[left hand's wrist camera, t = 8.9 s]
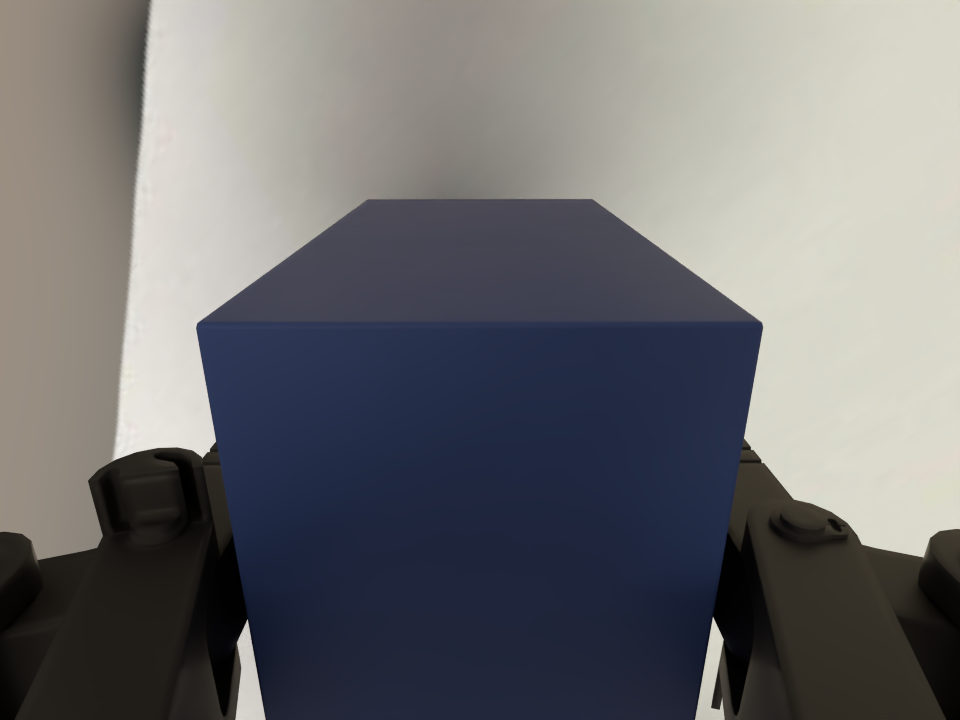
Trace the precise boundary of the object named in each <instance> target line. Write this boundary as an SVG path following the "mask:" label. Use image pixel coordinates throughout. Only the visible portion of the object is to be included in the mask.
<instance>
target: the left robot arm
mask: <svg viewBox="0 0 960 720" xmlns="http://www.w3.org/2000/svg"><path fill="white" fill-rule="evenodd" d="M88 482H89V486H90V490H91V494H92V497H93V501H94V505H95V508H96V512H97V516H98V520H99V523H100V527H101V531H102V534H103V537H102V539H101V541H100V543H99V545H98V547H97V548H95V549H91V550H87V551H82V552H77V553H72V554H67V555H62V556H57V557H52V558H47V559H41V560H37V557H36V554H35V551H34V548H33V544H32V542H31V540H29V539H28V538H27V537H25V536H24V535H23V534H18V533H10V532H0V720H235V718H236V709H237V701H238V692H239V683H240V675H241V664H240V657H239V652H238V646H237V641H238V639H239V637H240V634H241V632H242V630H243V628H244V626H245V624H246V621H247V619H248V617H247V611H246V606H245V600H244V594H243V589H242V583H241V578H240V572H239V566H238V561H237V555H236V549H235V544H234V538H233V532H232V527H231V521H230V516H229V510H228V504H227V499H226V493H225V487H224V482H223V476H222V471H221V465H220V459H219V454H218V448H217V442H215V444H214V445H213V446H212V447H211V449H210V452H207V454H206V455H205V456H204V457H203V458H202V457H201V456H199V455H198V454H197V453H195V452H194V451H192V450H187V449H182V448H156V449H151V450H146V451H141V452H136V453H133V454H130V455H128V456H125V457H122V458H119V459H117V460H115V461H113V462H111V463H109V464H108V465H106V466H104V467H102V468H101V469H99V470H98V471H97V472H96V473H95V474H94V475H93V476H92V477H91V478H90V479H89V480H88ZM713 617H714V620H715V622H716V624H717V626H718V628H719V630H720V632H721V635H722V637H723V639H724V641H723V646H722V652H721V657H720V662H719V667H718V673H717V678H716V683H715V689H714V694H713V700H712V706H711V708H714V709H719V710H720V705H721V700H722V699H723V708H724V716H725V720H960V529H953V530H945V531H939V532H938V533H936V534H935V535H934V536H932V537H931V538H930V540H929V543H928V546H927V549H926V552H925V556H924V558H923V557H918V556H913V555H908V554H902V553H897V552H892V551H887V550H882V549H877V548H873V547H869V546H865V545H862V544H861V542H860V540H859V538H858V536H857V534H856V533H855V532H854V531H853V529H852V528H851V527H850V526H849V525H848V523H846V522H845V521H844V520H842V519H841V518H839V517H838V516H836V515H835V514H833V513H832V512H830V511H827V510H825V509H823V508H820V507H818V506H816V505H813V504H810V503H806V502H802V501H797V500H794V499H793V498H792V497H791V496H790V494H789V493H788V492H787V491H786V490H785V488H784V487H783V486H782V485H781V483H780V482H779V481H778V480H777V479H776V477H775V476H774V475H773V474H772V472H771V471H770V470H769V469H768V467H767V466H766V465H765V464H764V463H761V459H760V458H759V456H758V455H757V454H756V453H755V452H754V450H751V447H750V445H749V444H748V443H747V442H746V440H745V439H744V440H743V446H742V452H741V457H740V463H739V469H738V475H737V480H736V486H735V492H734V498H733V503H732V509H731V515H730V521H729V526H728V532H727V538H726V544H725V549H724V555H723V561H722V567H721V573H720V578H719V584H718V590H717V596H716V601H715V607H714V613H713Z"/></svg>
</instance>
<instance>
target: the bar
mask: <svg viewBox="0 0 960 720" xmlns="http://www.w3.org/2000/svg"><path fill="white" fill-rule="evenodd" d="M196 330H197V335H198V341H199V347H200V352H201V358H202V363H203V369H204V375H205V380H206V386H207V392H208V397H209V403H210V409H211V414H212V420H213V425H214V431H215V437H216V442H217V448H218V454H219V459H220V465H221V471H222V476H223V482H224V487H225V493H226V499H227V504H228V510H229V516H230V521H231V527H232V532H233V538H234V544H235V549H236V555H237V561H238V566H239V572H240V578H241V583H242V589H243V594H244V600H245V606H246V611H247V617H248V623H249V628H250V634H251V640H252V645H253V651H254V656H255V662H256V668H257V673H258V679H259V685H260V690H261V696H262V701H263V707H264V713H265V718H266V720H695V717H696V711H697V705H698V699H699V694H700V688H701V682H702V676H703V671H704V665H705V659H706V653H707V647H708V642H709V636H710V630H711V624H712V619H713V613H714V607H715V601H716V596H717V590H718V584H719V578H720V573H721V567H722V561H723V555H724V549H725V544H726V538H727V532H728V526H729V521H730V515H731V509H732V503H733V498H734V492H735V486H736V480H737V475H738V469H739V463H740V457H741V452H742V446H743V440H744V434H745V428H746V423H747V417H748V411H749V405H750V400H751V394H752V388H753V382H754V377H755V371H756V365H757V359H758V354H759V348H760V342H761V336H762V331H763V325H762V322H760V321H759V320H758V319H756V318H755V317H754V316H752V315H751V314H749V313H748V312H747V311H745V310H744V309H743V308H741V307H740V306H738V305H737V304H736V303H734V302H733V301H732V300H730V299H729V298H727V297H726V296H725V295H723V294H722V293H721V292H719V291H718V290H716V289H715V288H714V287H712V286H711V285H710V284H708V283H707V282H705V281H704V280H703V279H701V278H700V277H699V276H697V275H696V274H694V273H693V272H692V271H690V270H689V269H688V268H686V267H685V266H683V265H682V264H681V263H679V262H678V261H677V260H675V259H674V258H672V257H671V256H670V255H668V254H667V253H666V252H664V251H663V250H661V249H660V248H659V247H657V246H656V245H655V244H653V243H652V242H650V241H649V240H648V239H646V238H645V237H644V236H642V235H641V234H639V233H638V232H637V231H635V230H634V229H633V228H631V227H630V226H628V225H627V224H626V223H624V222H623V221H622V220H620V219H619V218H617V217H616V216H615V215H613V214H612V213H611V212H609V211H608V210H606V209H605V208H604V207H602V206H601V205H600V204H598V203H597V202H595V201H594V200H592V199H437V200H367V201H365V202H364V203H362V204H361V205H360V206H358V207H357V208H356V209H354V210H353V211H351V212H350V213H349V214H347V215H346V216H345V217H343V218H342V219H340V220H339V221H338V222H336V223H335V224H333V225H332V226H331V227H329V228H328V229H327V230H325V231H324V232H322V233H321V234H320V235H318V236H317V237H316V238H314V239H313V240H311V241H310V242H309V243H307V244H306V245H305V246H303V247H302V248H300V249H299V250H298V251H296V252H295V253H294V254H292V255H291V256H289V257H288V258H287V259H285V260H284V261H283V262H281V263H280V264H278V265H277V266H276V267H274V268H273V269H272V270H270V271H269V272H267V273H266V274H265V275H263V276H262V277H261V278H259V279H258V280H256V281H255V282H254V283H252V284H251V285H249V286H248V287H247V288H245V289H244V290H243V291H241V292H240V293H238V294H237V295H236V296H234V297H233V298H232V299H230V300H229V301H227V302H226V303H225V304H223V305H222V306H221V307H219V308H218V309H216V310H215V311H214V312H212V313H211V314H210V315H208V316H207V317H205V318H204V319H203V320H201V321H200V322H199V323H197V327H196Z"/></svg>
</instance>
